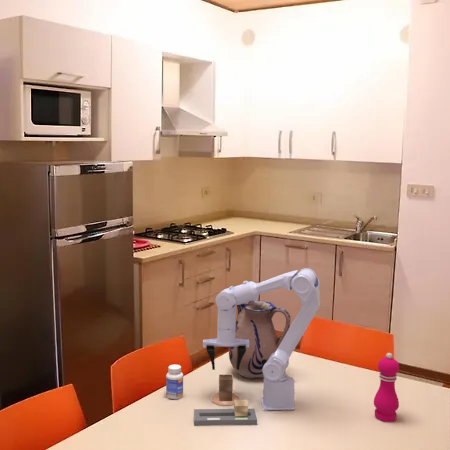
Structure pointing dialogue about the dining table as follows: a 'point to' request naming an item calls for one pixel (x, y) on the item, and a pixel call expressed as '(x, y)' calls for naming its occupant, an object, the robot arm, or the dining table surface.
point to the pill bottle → (174, 382)
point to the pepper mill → (387, 390)
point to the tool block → (225, 387)
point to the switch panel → (223, 417)
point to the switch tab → (240, 408)
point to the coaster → (224, 403)
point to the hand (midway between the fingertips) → (225, 368)
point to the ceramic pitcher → (256, 336)
